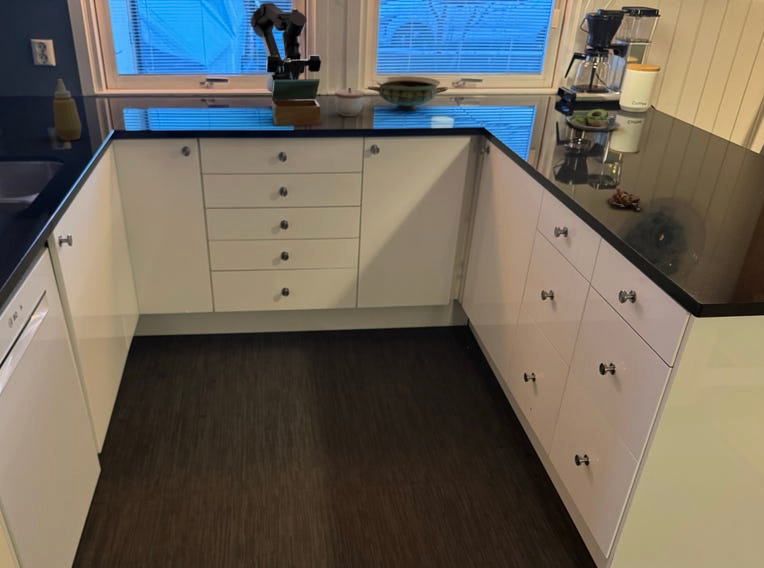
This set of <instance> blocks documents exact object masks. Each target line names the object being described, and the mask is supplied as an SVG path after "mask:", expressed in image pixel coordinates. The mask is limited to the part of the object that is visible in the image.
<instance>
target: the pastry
mask: <svg viewBox="0 0 764 568" xmlns="http://www.w3.org/2000/svg"><path fill="white" fill-rule="evenodd" d="M633 194H634V193H630V192H628V191H627V190H621V188H619V187H617V188H616V192H615V193H614V194H613V196H611V197H610V198H608V203H609V204H610V205H615V204H617V205H618V204H622V205H626V206H631V204H632V203H637V204H636V205H633V204H632V205H633V207H635V208H634V211H636V212H639V211H640V210H641V209H640V206H639V204H638V203H639V202H640V197H639V196H637V194H635V195H633ZM611 198H612V199H611ZM611 203H612V204H611ZM629 204H630V205H629ZM617 205H616V206H617ZM626 206H620V207H621V208H623V207H626Z"/></svg>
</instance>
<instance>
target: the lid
mask: <svg viewBox="0 0 764 568" xmlns="http://www.w3.org/2000/svg"><path fill="white" fill-rule="evenodd" d="M320 82H321V80H320V78H299V79H291V80H274V85H273V92H271V94H272V95H271V101H272V100H311V99H315V100H316V97H317V93H318V89H319V86H320Z"/></svg>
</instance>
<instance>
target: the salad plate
mask: <svg viewBox="0 0 764 568" xmlns="http://www.w3.org/2000/svg"><path fill="white" fill-rule="evenodd" d="M565 121H566V123H567V124H568V125H569V126H571V127H572V128H575V129H578V130H580V131H585V132H608V131H613V130H615V129H618V128H620V127H621V123H619V122H617V121H616V118H615V117H612V116H609V112H608V110H606V109H604V108H595V109H591V110H588V111H587V112H586V114H585V115H579V114H575V115H570V116H567V117H566V118H565Z"/></svg>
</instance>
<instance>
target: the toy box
mask: <svg viewBox="0 0 764 568" xmlns="http://www.w3.org/2000/svg"><path fill="white" fill-rule="evenodd" d="M271 105H272V106H271V113H272V120H273V123H274V125H275V127H288V126H289V127H290V126H318V125H319V126H320V125H321V105H320V104H319V102H318V101H317V100H316V98H315V99H295V100H272V99H271Z"/></svg>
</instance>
